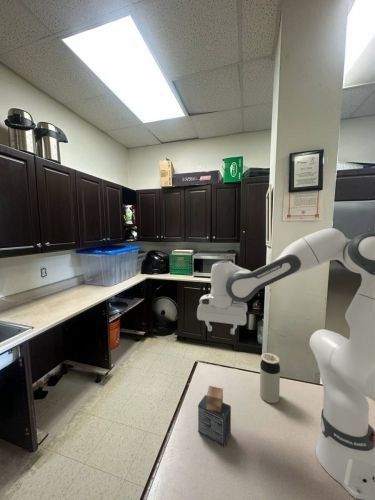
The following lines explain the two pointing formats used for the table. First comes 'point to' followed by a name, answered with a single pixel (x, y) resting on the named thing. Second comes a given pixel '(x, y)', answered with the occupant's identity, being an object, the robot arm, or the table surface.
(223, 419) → the small box
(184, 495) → the table surface
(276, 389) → the travel mug
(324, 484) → the table surface
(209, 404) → the tan cube
